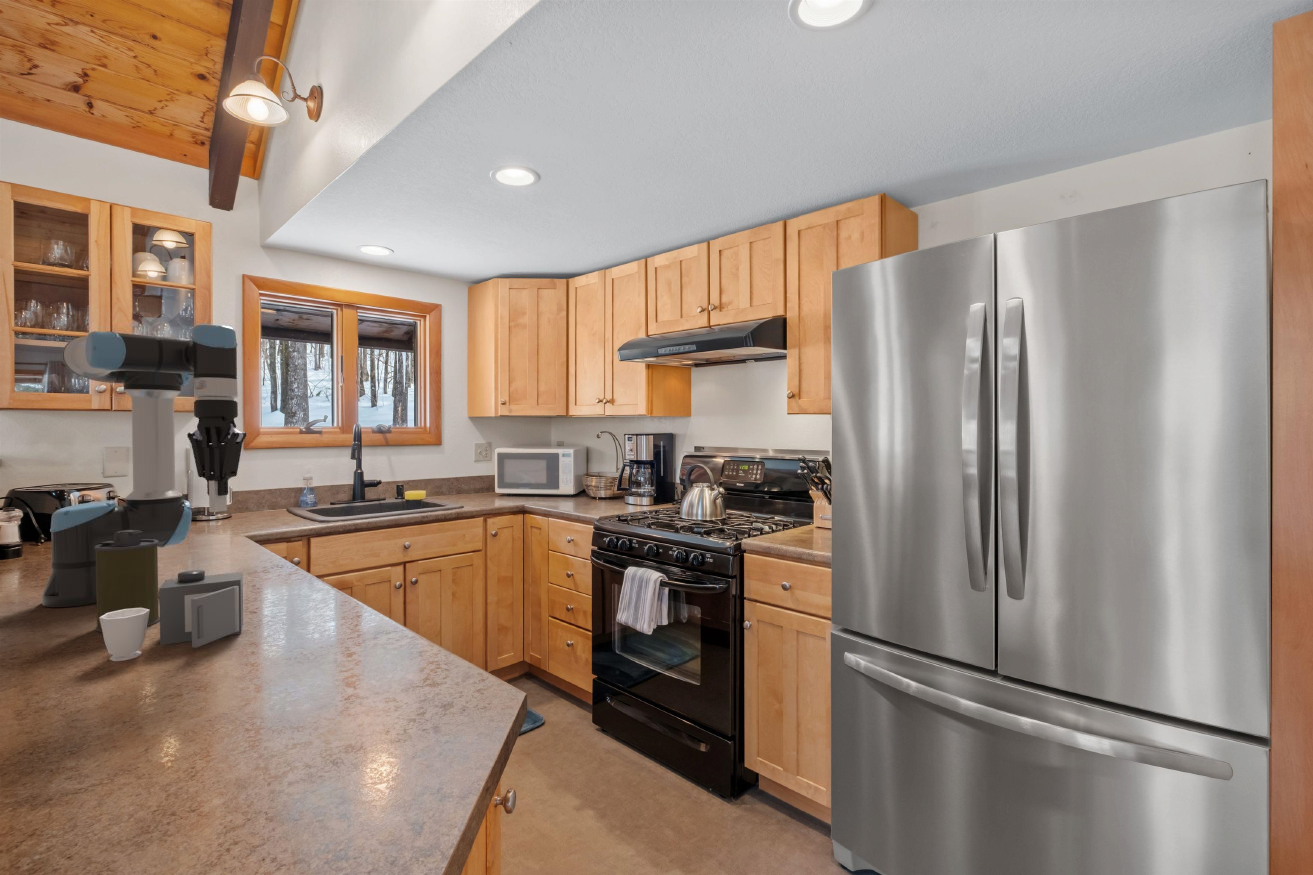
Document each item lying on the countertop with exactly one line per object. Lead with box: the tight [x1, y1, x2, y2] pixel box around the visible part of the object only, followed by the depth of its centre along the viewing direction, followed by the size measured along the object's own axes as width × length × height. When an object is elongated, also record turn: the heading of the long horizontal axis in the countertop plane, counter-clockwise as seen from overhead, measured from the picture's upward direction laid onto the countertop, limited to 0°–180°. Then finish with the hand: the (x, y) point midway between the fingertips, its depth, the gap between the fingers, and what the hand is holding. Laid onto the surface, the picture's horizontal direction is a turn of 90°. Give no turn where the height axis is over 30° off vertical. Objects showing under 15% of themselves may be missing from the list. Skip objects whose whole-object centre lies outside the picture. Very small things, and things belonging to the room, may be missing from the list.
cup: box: [99, 608, 150, 662], centre depth 115 cm, size 7×10×8 cm
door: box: [191, 586, 239, 648], centre depth 121 cm, size 2×10×9 cm, turn 171°
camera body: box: [158, 569, 244, 646], centre depth 126 cm, size 8×13×12 cm, turn 121°
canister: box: [94, 530, 160, 633], centre depth 132 cm, size 11×10×20 cm
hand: (218, 511), depth 131 cm, fingers closed
